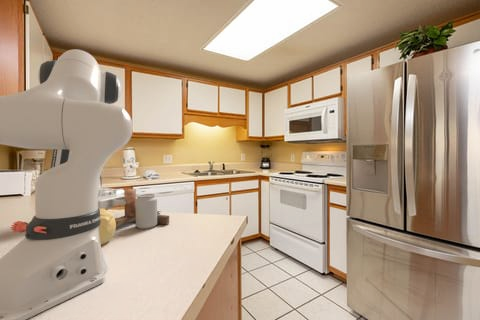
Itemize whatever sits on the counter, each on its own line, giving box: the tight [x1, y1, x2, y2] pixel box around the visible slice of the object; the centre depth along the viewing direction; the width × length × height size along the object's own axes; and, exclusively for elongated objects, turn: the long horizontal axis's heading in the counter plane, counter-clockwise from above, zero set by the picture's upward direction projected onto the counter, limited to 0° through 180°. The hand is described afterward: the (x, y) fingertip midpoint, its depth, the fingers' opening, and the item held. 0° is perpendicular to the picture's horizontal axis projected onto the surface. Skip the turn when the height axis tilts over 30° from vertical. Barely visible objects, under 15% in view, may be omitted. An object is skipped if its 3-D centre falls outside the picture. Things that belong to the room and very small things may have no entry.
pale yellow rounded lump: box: [99, 208, 116, 246], centre depth 70 cm, size 12×12×11 cm
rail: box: [115, 210, 162, 232], centre depth 92 cm, size 28×2×1 cm, turn 162°
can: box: [135, 193, 158, 230], centre depth 86 cm, size 8×8×12 cm
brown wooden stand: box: [115, 188, 170, 227], centre depth 85 cm, size 14×16×13 cm
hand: (131, 201), depth 89 cm, fingers closed on brown wooden stand, 4 cm apart
